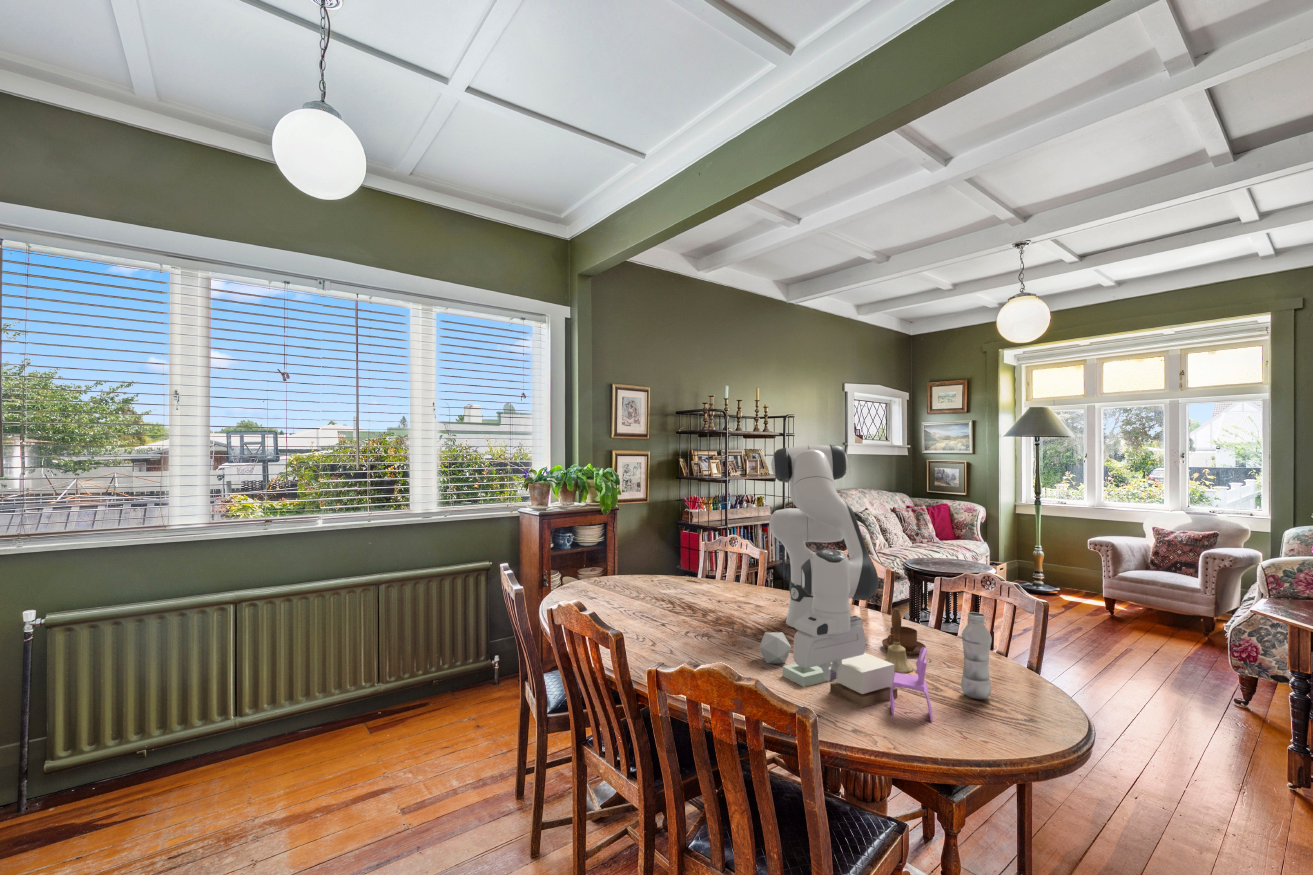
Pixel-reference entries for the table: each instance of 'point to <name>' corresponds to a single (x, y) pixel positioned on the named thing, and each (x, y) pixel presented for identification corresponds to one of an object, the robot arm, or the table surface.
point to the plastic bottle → (976, 658)
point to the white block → (865, 673)
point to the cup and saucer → (905, 640)
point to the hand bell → (897, 647)
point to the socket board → (804, 674)
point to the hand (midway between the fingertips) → (830, 679)
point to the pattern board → (860, 698)
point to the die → (774, 647)
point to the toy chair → (913, 682)
